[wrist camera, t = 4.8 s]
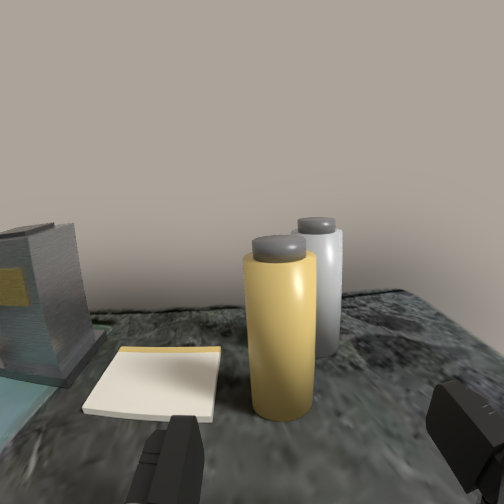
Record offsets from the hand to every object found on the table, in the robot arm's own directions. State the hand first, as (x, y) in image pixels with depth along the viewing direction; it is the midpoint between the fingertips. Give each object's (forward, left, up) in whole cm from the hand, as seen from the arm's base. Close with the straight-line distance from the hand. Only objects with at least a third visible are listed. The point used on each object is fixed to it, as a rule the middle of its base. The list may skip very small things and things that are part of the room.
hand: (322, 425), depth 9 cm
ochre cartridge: (0, +11, -8) cm, 14 cm away
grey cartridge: (+4, +19, -8) cm, 21 cm away
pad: (-10, +14, -8) cm, 19 cm away
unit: (-23, +17, -8) cm, 30 cm away
